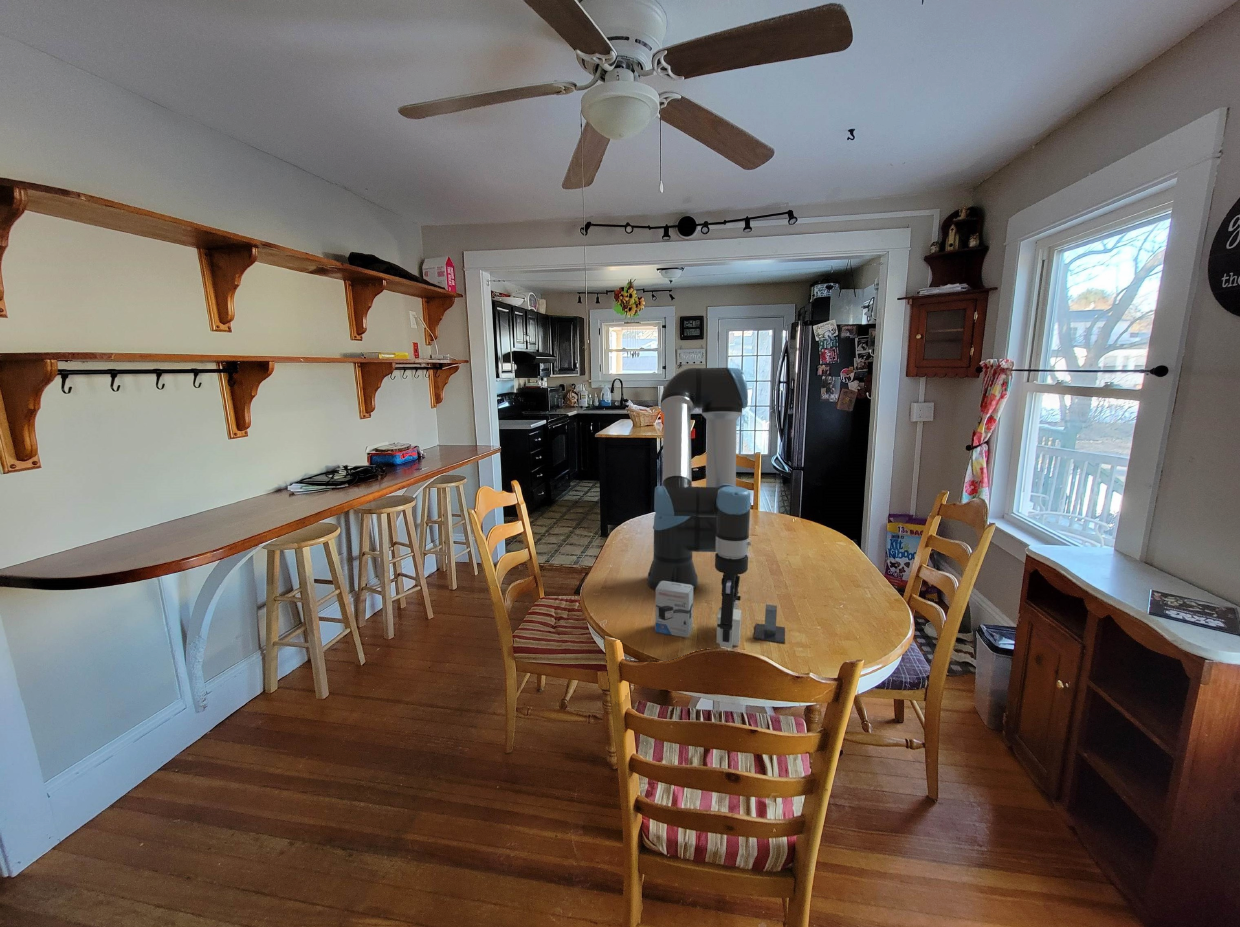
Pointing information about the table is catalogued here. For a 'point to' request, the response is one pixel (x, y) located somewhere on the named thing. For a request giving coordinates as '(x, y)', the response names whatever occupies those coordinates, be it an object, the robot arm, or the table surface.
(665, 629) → the ink box
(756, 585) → the table surface
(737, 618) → the white upright block
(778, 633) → the post
